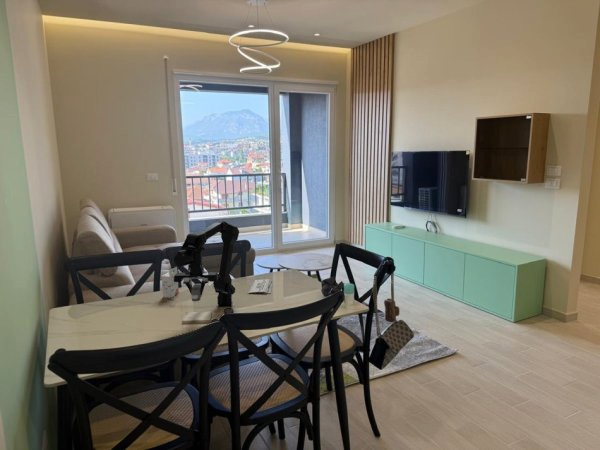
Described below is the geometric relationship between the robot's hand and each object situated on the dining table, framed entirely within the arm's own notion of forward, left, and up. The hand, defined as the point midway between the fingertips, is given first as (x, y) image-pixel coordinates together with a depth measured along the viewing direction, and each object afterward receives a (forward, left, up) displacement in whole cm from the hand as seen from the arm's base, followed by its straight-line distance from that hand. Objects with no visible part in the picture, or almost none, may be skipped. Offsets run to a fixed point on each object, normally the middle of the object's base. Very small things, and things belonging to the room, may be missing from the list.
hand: (196, 295), depth 187 cm
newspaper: (-29, -43, -12) cm, 53 cm away
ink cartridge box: (+19, -33, -11) cm, 40 cm away
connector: (0, 0, -1) cm, 1 cm away
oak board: (0, 0, -11) cm, 11 cm away
